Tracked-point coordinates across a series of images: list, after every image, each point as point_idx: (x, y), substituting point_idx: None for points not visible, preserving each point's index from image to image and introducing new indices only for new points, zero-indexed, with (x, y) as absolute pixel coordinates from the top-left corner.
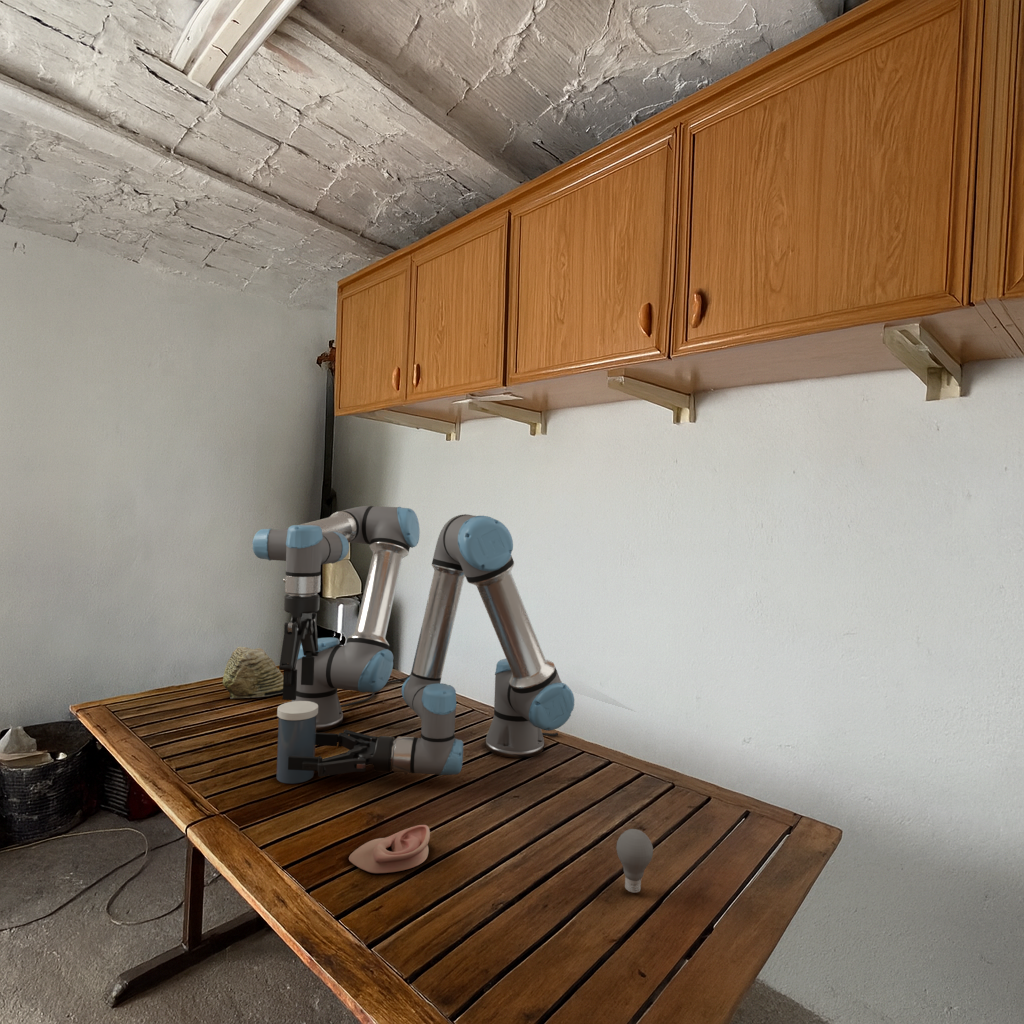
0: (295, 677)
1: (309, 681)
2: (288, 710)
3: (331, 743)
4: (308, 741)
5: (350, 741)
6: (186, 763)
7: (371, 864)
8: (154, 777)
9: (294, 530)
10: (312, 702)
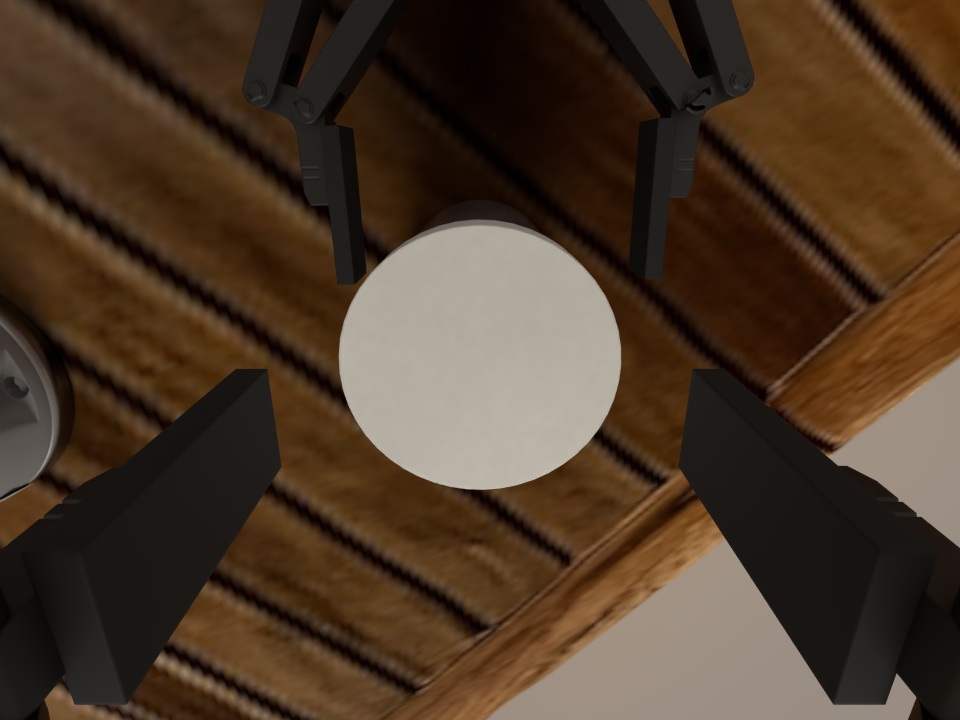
0: (861, 487)
1: (257, 411)
2: (562, 404)
3: (352, 157)
4: (534, 230)
5: (385, 18)
6: (437, 626)
7: None
8: (539, 654)
9: None
10: (359, 304)
